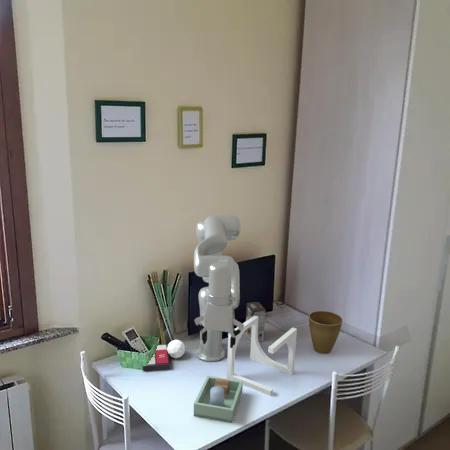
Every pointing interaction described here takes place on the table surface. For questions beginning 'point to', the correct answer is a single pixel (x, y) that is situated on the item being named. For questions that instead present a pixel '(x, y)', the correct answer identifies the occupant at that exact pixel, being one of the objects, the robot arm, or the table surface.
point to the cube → (223, 386)
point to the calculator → (159, 360)
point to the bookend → (262, 354)
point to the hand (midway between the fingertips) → (218, 344)
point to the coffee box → (259, 311)
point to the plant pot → (324, 330)
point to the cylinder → (217, 396)
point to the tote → (217, 412)
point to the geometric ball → (176, 348)
